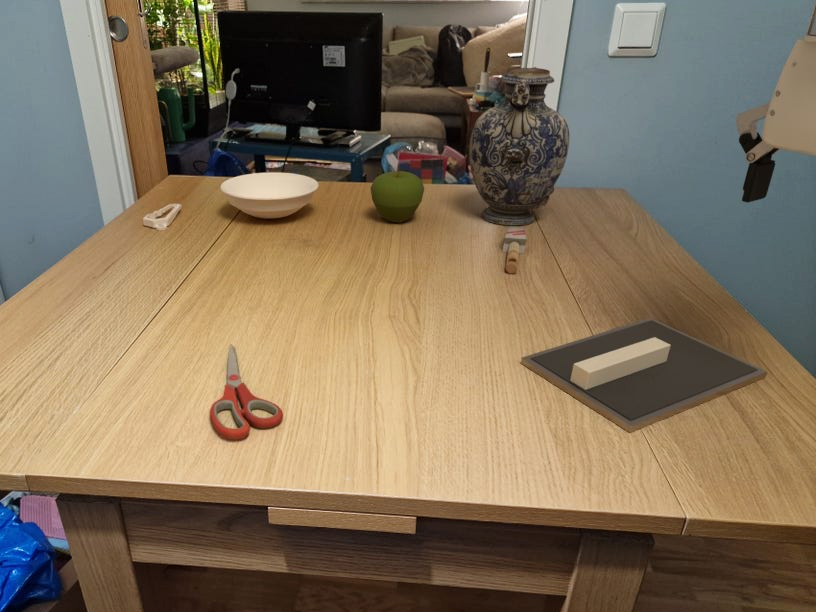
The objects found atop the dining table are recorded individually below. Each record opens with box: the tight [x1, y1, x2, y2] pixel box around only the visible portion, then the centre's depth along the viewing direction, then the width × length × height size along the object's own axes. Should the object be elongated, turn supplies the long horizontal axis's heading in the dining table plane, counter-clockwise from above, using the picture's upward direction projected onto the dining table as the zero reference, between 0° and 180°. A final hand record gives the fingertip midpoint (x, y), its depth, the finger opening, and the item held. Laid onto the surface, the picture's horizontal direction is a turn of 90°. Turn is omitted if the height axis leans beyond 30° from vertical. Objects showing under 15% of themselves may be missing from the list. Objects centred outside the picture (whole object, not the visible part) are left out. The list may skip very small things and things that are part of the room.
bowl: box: [219, 171, 319, 220], centre depth 136 cm, size 20×20×6 cm
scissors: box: [209, 343, 284, 440], centre depth 78 cm, size 8×21×2 cm, turn 24°
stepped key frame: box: [142, 203, 183, 231], centre depth 134 cm, size 13×5×2 cm, turn 176°
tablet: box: [520, 317, 768, 433], centre depth 82 cm, size 24×17×1 cm
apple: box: [370, 170, 425, 223], centre depth 132 cm, size 11×10×10 cm
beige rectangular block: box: [570, 337, 671, 390], centre depth 80 cm, size 14×2×2 cm, turn 119°
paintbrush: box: [501, 226, 527, 274], centre depth 117 cm, size 4×3×20 cm
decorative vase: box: [468, 66, 570, 227], centre depth 129 cm, size 21×19×28 cm
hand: (799, 211), depth 67 cm, fingers open, 9 cm apart
